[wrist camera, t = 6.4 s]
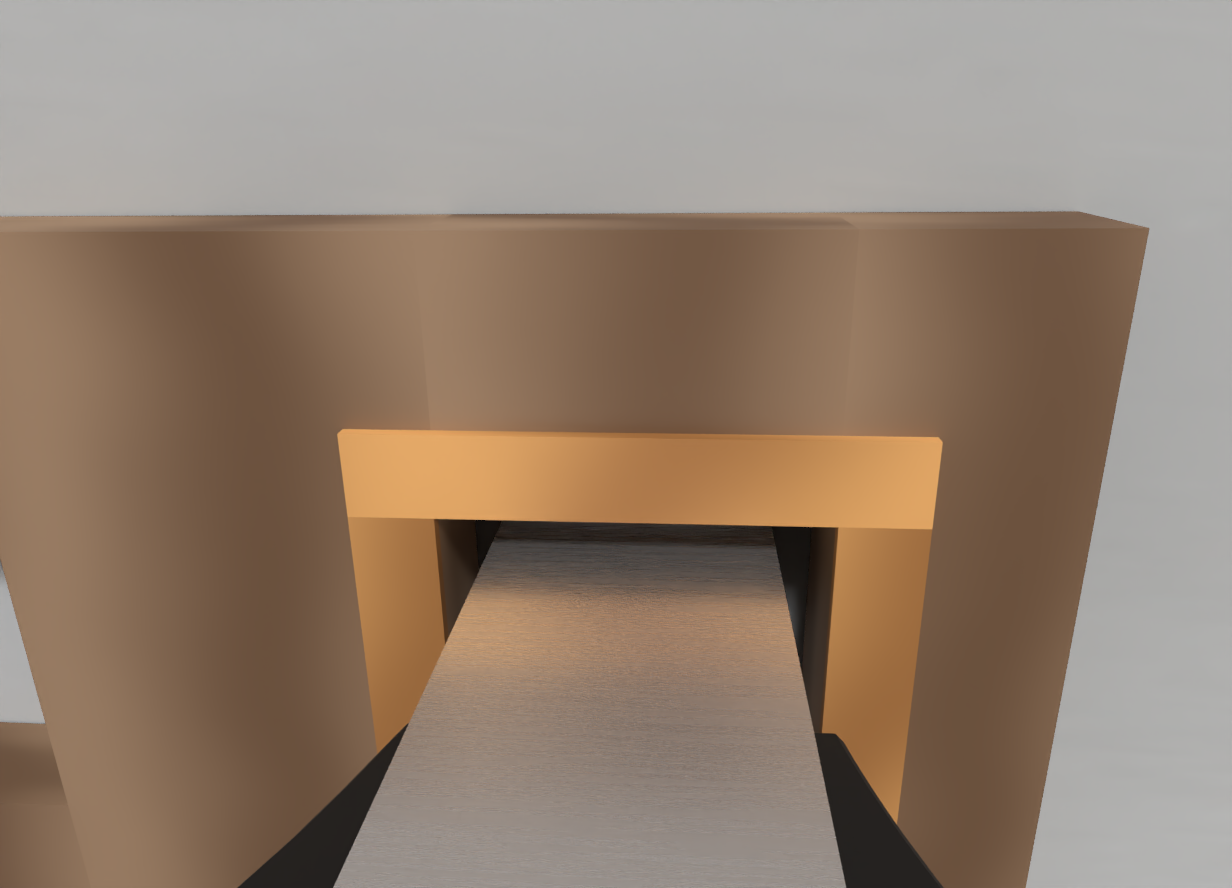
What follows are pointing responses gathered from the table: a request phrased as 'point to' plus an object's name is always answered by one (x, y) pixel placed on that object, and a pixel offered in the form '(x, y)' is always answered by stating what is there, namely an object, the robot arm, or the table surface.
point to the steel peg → (610, 724)
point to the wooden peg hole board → (528, 490)
